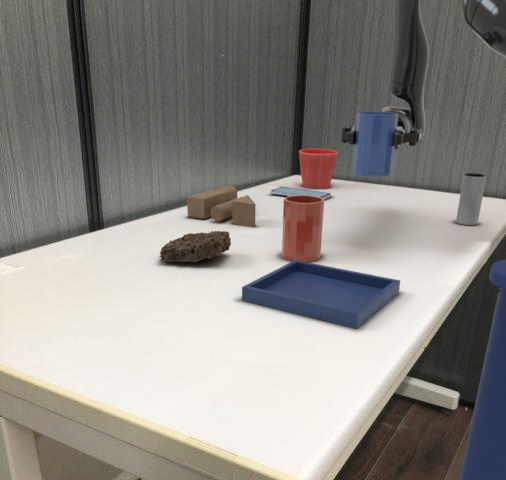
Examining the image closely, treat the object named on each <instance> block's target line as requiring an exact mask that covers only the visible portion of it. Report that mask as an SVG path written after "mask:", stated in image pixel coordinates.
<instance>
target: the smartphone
mask: <svg viewBox="0 0 506 480" xmlns="http://www.w3.org/2000/svg"><path fill="white" fill-rule="evenodd" d="M270 194H273V195H278V196H279V195H280V196H286V197H288V196H296V195H306V196H316V197H320V198H323V199H324V200H326V199H328V198H331V197H332V193H331V192H326V191H318V190H311V189H304V188H296V187H291V186H290V187H289V186H279V187H276V188H273V189H270Z"/></svg>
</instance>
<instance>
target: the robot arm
mask: <svg viewBox="0 0 506 480" xmlns="http://www.w3.org/2000/svg"><path fill="white" fill-rule="evenodd" d="M420 3H421V0H395V41H394V52H393V60H392V65H391V66H392V68H391V74H390V80H389V93H390V95H392V96H393V97H395V98H397V99H398V100H401V101H404V102H406V103H407V104H408V106H409V108H408V107H400V106H399V107H398V106H385V107H383V108H381V110H380V111H379V112H390V113H398V123H397V132H395V134H394V142H393V147H395V151H397V150H398V149H399V148H400V147H404V146H406V144H408V146H410V147H415V146H418V145H419V144H421V140H422V138H423V137H424V135H425V133H426V112H425V103H424V100H425V99H424V92H425V85H426V84H425V83H426V80H427V79H426V78H427V73H428V66H429V60H430V47H429V41H428V37H427V33H426V31H425V27H424V23H423V20H422V15H421V8H420V7H421V5H420ZM462 10H463V11H462V12H463V18H464V21H465V23H466V25H467V27H468V29H470V31H471V32H472V33H473V34H474V35H475V36H476V37H477V38H478V39H479V40H480V41H481V42H483V44H485V45H486V47H488V48H489V49H490V50H492V51H493V52H495V53H496V54H498V55H500V56H501V57H502V58H505V59H506V0H462ZM355 138H356V126H354V125H351V124H349V125H345V126H343V127H342V128H341V138H340V141H341V143H342V144H346V143H348V145H352V146H353V145H354V146H355Z"/></svg>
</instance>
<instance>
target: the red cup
mask: <svg viewBox="0 0 506 480" xmlns="http://www.w3.org/2000/svg"><path fill="white" fill-rule="evenodd" d="M282 208H283V211H282V235H281V236H282V237H281V238H282V239H281V257H282V258H283V259H285V260H286V261H287V260H288V261H291V262H292V261H294V260H298V261H303V262H308V263H311V262H317V261H319V260H320V259H321V255H322V245H323V244H322V243H323V229H324V214H325V199H323V198H320V197H316V196H306V195H296V196H286V197H284V198H283V207H282Z"/></svg>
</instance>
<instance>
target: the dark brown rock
mask: <svg viewBox="0 0 506 480" xmlns="http://www.w3.org/2000/svg"><path fill="white" fill-rule="evenodd" d="M231 240H232V239H231V237H230V232H229V231H223V230H222V231H221V230H215V231H214V230H212V231H209V232H196V233H191V232H190V233H186V234H184V235H183V236H181V237H177V238H176V239H173V240H169V241H168V242H167V243H166V244H164V245H163V246H162V247H161V249H160V252H159V258H160V261H161V262H164V263H165V262H169V263H174V262H182V263H183V262H185V263H186V262H187V263H197V262H199V261H202V260H203V261H204V260H205V259H209V260H210V259H213V258H215V257H218V256H220V255H221V254H222V253H225V252H228V251H229V250H230V247H231V246H232V241H231Z"/></svg>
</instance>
